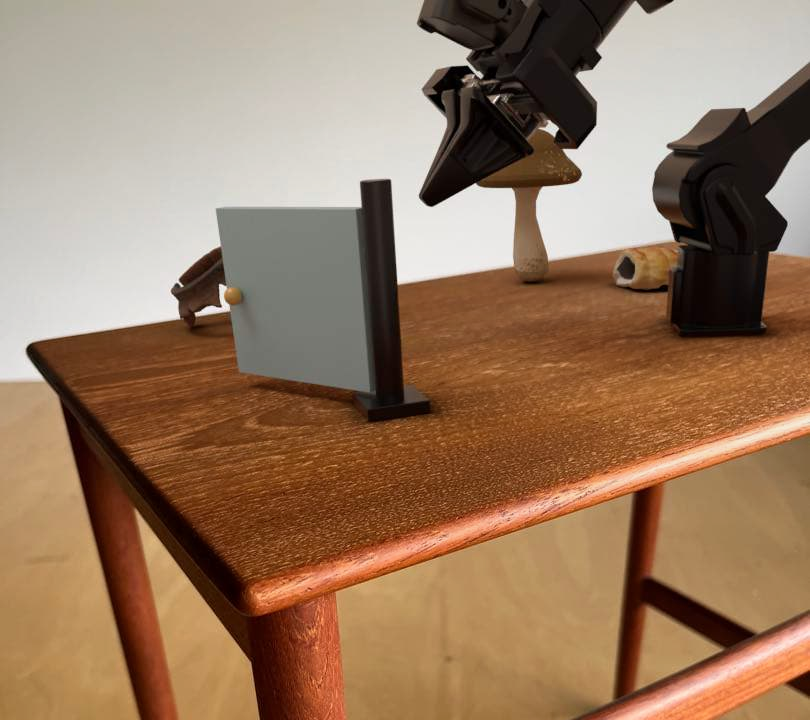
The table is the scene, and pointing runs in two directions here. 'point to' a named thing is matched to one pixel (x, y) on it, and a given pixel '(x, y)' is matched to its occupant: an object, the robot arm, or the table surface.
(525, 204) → the mushroom
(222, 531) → the table surface
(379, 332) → the door frame
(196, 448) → the table surface
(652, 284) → the pastry
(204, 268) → the broken clay pot shard
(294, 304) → the door
